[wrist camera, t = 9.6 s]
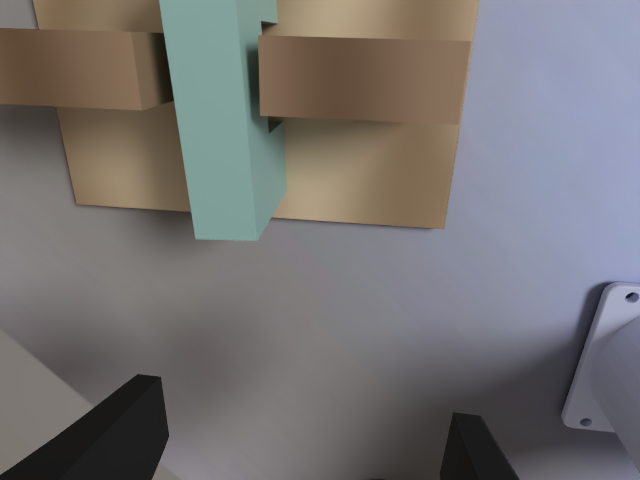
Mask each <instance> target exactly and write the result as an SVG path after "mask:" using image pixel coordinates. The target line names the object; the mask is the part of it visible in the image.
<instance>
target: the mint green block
mask: <svg viewBox="0 0 640 480" xmlns="http://www.w3.org/2000/svg"><path fill="white" fill-rule="evenodd" d="M159 4H160V10H161V17H162V24H163V30H164V37H165V43H166V50H167V56H168V63H169V69H170V76H171V82H172V89H173V96H174V102H175V109H176V115H177V122H178V128H179V135H180V141H181V148H182V155H183V161H184V168H185V174H186V181H187V187H188V194H189V200H190V207H191V213H192V220H193V227H194V233H195V239H207V240H244V241H258V239H259V237H260V236H261V234H262V232H263V231H264V229H265V227H266V226H267V224H268V222H269V221H270V219H271V217H272V216H273V214H274V212H275V211H276V209H277V207H278V206H279V204H280V202H281V201H282V199H283V197H284V196H285V194H286V192H287V178H286V161H285V143H284V125H283V122H268V116H260V88H259V55H258V35H262V29H261V24H278V20H277V2H276V0H159Z"/></svg>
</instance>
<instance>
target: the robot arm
mask: <svg viewBox="0 0 640 480" xmlns="http://www.w3.org/2000/svg"><path fill="white" fill-rule="evenodd" d="M632 292H634V294H633V295H632V296H631V297H629V298H625V297H626V296H627V294H629V293H632ZM561 418H562V420H563V422H564V424H565V425H566V426H567V427H570V428H577V429H586V430H596V431H605V432H614V433H616V434H617V436H618V437H619V439H620V441H621V442H622V444H623V446H624V447H625V449H626V451H627V452H628V454H629V456H630V457H631V459H632V461H633V462H634V464H635V466H636V467H637V469H638V470H639V472H640V284H637V283H624V282H615V283H612V284H609V285H608V286H607V287H605V289H604V290H603V293H602V296H601V299H600V302H599V305H598V307H597V310H596V313H595V316H594V319H593V322H592V325H591V328H590V331H589V334H588V337H587V340H586V343H585V346H584V349H583V352H582V355H581V358H580V361H579V364H578V367H577V370H576V373H575V376H574V379H573V382H572V385H571V387H570V390H569V393H568V396H567V399H566V402H565V405H564V408H563V411H562V414H561ZM584 418H587V419H585V420H582V419H584ZM168 438H169V432H168V425H167V417H166V410H165V403H164V396H163V389H162V382H161V377H157V376H149V375H141V374H137V375H136V376H135V377H133V378H132V379H131V380H129V381H128V382H127V383H125V384H124V385H123V386H122V387H120V388H119V389H118V390H116V391H115V392H114V393H112V394H111V395H110V396H109V397H107V398H106V399H105V400H103V401H102V402H101V403H100V404H98V405H97V406H96V407H94V408H93V409H92V410H91V411H89V412H88V413H87V414H85V415H84V416H83V417H81V418H80V419H79V420H77V421H76V422H75V423H73V424H72V425H71V426H69V427H68V428H67V429H65V430H64V431H63V432H61V433H60V434H59V435H57V436H56V437H55V438H53V439H52V440H50V441H49V442H47V443H46V444H44V445H43V446H42V447H40V448H39V449H38V450H36V451H34V452H33V453H32V454H30V455H29V456H27V457H26V458H25V459H23V460H22V461H20V462H19V463H17V464H16V465H15V466H13V467H12V468H10V469H9V470H7V471H6V472H4V473H3V474H1V475H0V480H151V479H152V478H153V475H154V473H155V471H156V468H157V466H158V463H159V461H160V459H161V456H162V453H163V451H164V448H165V446H166V443H167V441H168ZM440 480H520V479H519V478H518V476H517V475H516V473H515V471H514V470H513V468H512V467H511V465H510V463H509V462H508V460H507V459H506V457H505V455H504V454H503V452H502V451H501V449H500V447H499V446H498V444H497V442H496V441H495V439H494V437H493V436H492V434H491V432H490V430H489V429H488V427H487V425H486V423H485V422H484V420H483V419H482V418H481V417H480V416H477V415H469V414H461V413H453V416H452V421H451V425H450V430H449V434H448V439H447V443H446V448H445V452H444V457H443V462H442V466H441V471H440Z"/></svg>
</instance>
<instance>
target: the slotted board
mask: <svg viewBox="0 0 640 480" xmlns="http://www.w3.org/2000/svg"><path fill="white" fill-rule="evenodd" d="M276 2H277V20H278V24H261V29H262V35H258V55H259V88H260V116H268V122H283V125H284V143H285V161H286V178H287V192H286V194H285V196H284V197H283V199H282V201H281V202H280V204H279V206H278V207H277V209H276V211H275V212H274V214H273V216H272V217H274V218H288V219H303V220H318V221H333V222H347V223H362V224H377V225H392V226H406V227H421V228H436V229H444V227H445V221H446V214H447V208H448V201H449V195H450V188H451V182H452V175H453V169H454V162H455V156H456V149H457V143H458V136H459V130H460V123H461V117H462V110H463V104H464V97H465V91H466V85H467V78H468V72H469V65H470V59H471V52H472V46H473V39H474V33H475V26H476V20H477V13H478V7H479V0H276ZM33 3H34V8H35V13H36V17H37V22H38V27H39V29H12V28H0V104H12V105H34V106H56V110H57V115H58V120H59V124H60V129H61V134H62V138H63V143H64V147H65V152H66V157H67V161H68V166H69V171H70V175H71V180H72V185H73V189H74V194H75V199H76V203H77V204H82V205H97V206H112V207H126V208H141V209H156V210H171V211H185V212H191V207H190V200H189V194H188V187H187V181H186V174H185V168H184V161H183V155H182V148H181V141H180V135H179V128H178V122H177V115H176V109H175V102H174V96H173V89H172V82H171V76H170V69H169V63H168V56H167V50H166V43H165V37H164V30H163V24H162V17H161V10H160V4H159V0H33Z"/></svg>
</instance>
